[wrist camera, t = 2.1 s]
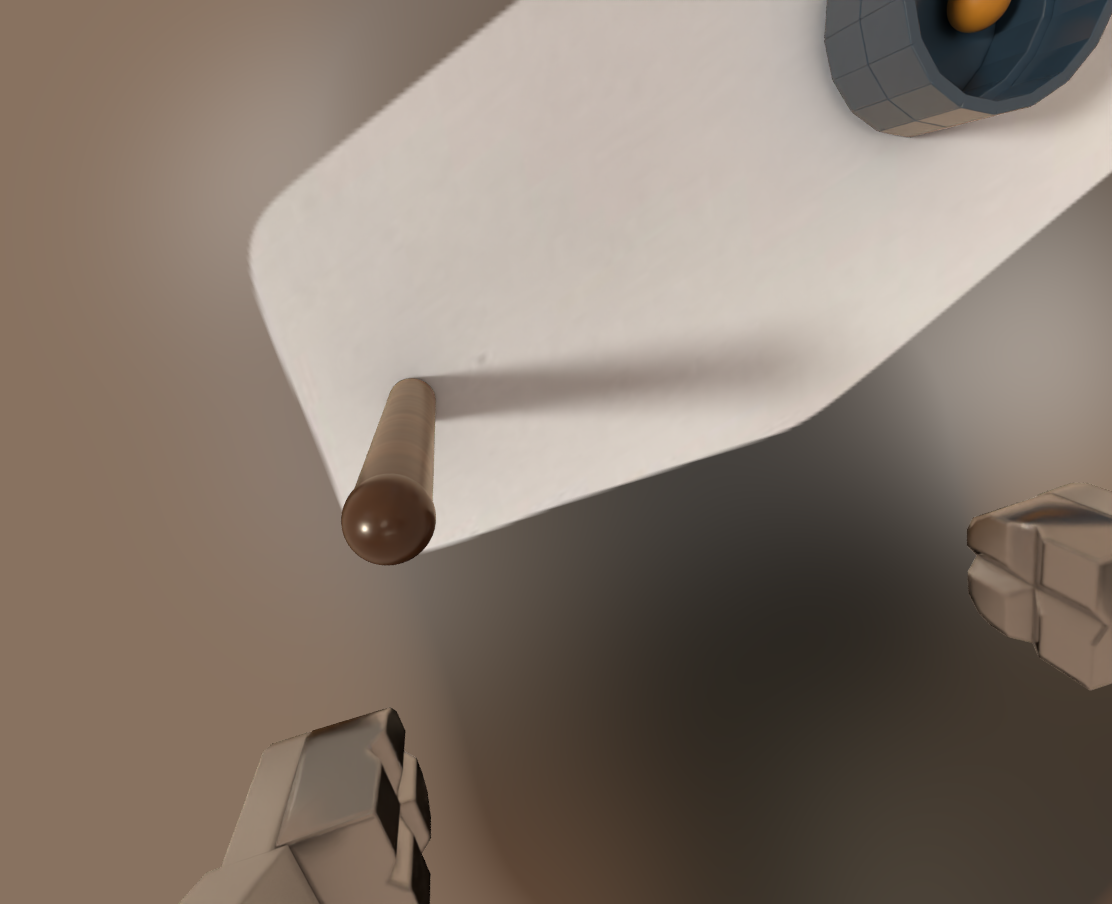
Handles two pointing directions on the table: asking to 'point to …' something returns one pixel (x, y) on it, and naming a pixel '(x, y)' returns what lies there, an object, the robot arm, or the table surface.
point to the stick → (396, 481)
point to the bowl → (954, 59)
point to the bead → (975, 13)
